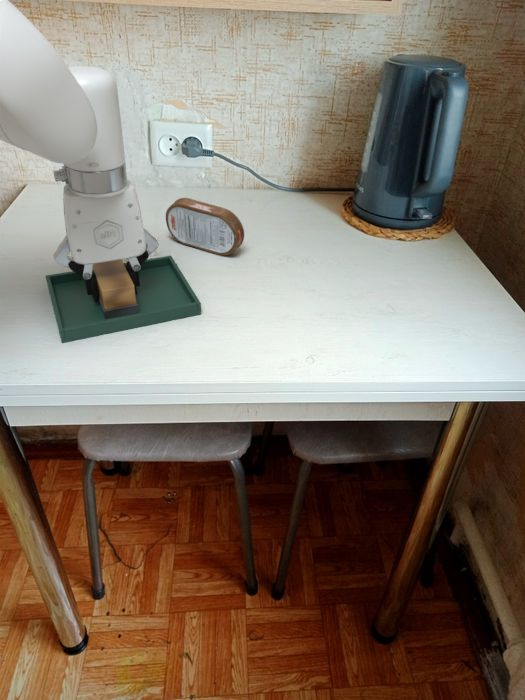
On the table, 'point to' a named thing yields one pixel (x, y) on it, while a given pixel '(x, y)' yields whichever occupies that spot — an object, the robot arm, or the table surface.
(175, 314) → the tray
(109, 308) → the eraser
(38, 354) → the table surface
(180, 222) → the tin
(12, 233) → the table surface
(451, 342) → the table surface
